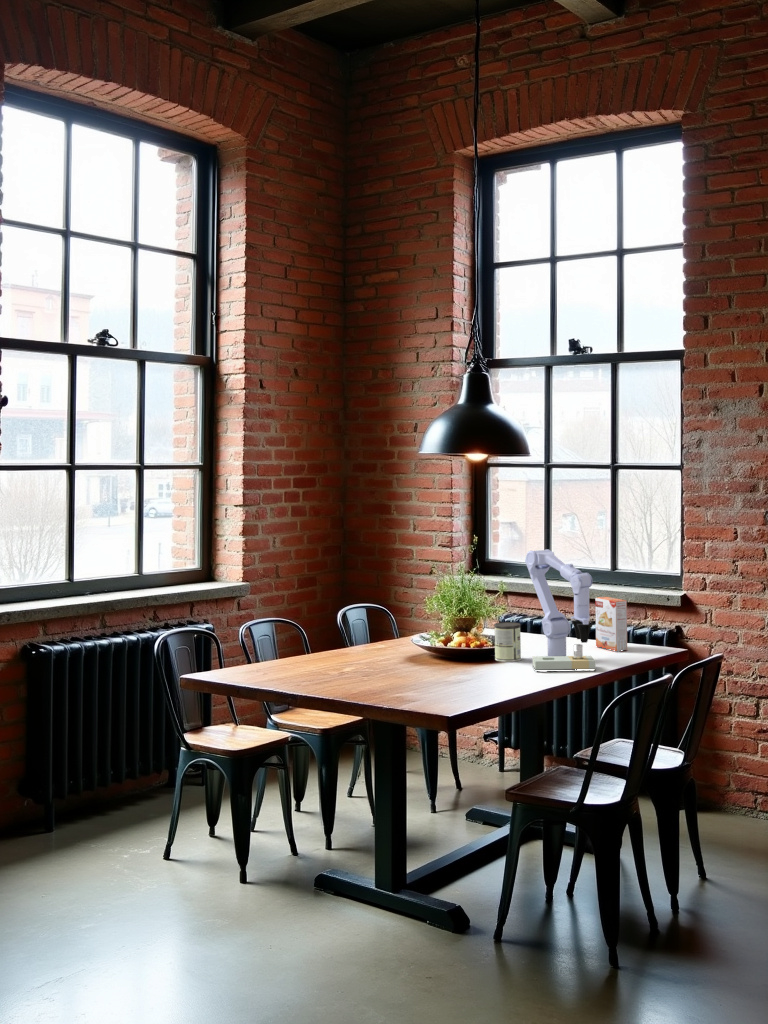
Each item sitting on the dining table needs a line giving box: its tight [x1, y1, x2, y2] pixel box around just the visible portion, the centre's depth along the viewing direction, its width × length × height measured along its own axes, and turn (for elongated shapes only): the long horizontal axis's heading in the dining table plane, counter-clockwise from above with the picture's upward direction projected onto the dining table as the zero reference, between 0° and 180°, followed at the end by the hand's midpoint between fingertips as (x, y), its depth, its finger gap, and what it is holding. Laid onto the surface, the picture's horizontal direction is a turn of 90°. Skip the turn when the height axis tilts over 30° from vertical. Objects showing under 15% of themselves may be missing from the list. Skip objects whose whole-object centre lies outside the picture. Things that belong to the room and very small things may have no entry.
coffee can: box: [493, 621, 522, 663], centre depth 426 cm, size 10×10×14 cm
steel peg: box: [573, 643, 584, 660], centre depth 404 cm, size 3×3×8 cm
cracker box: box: [595, 596, 628, 652], centre depth 445 cm, size 14×6×21 cm, turn 25°
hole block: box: [532, 655, 596, 671], centre depth 405 cm, size 10×22×4 cm, turn 88°
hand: (582, 640), depth 411 cm, fingers open, 7 cm apart
